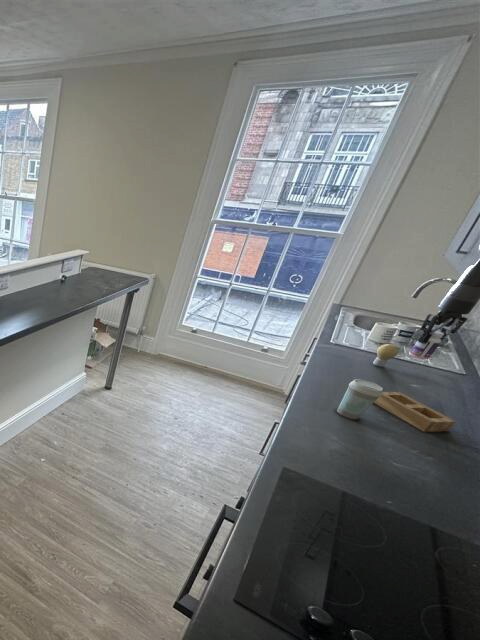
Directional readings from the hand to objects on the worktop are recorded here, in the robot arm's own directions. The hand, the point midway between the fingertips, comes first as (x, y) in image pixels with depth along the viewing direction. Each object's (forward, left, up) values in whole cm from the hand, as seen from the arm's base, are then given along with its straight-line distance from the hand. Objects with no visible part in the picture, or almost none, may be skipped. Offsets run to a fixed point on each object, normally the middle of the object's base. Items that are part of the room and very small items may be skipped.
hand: (428, 342), depth 143 cm
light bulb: (-21, -22, -22) cm, 37 cm away
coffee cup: (+35, +14, -22) cm, 43 cm away
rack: (+11, +15, -21) cm, 28 cm away
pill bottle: (0, 0, -6) cm, 6 cm away
